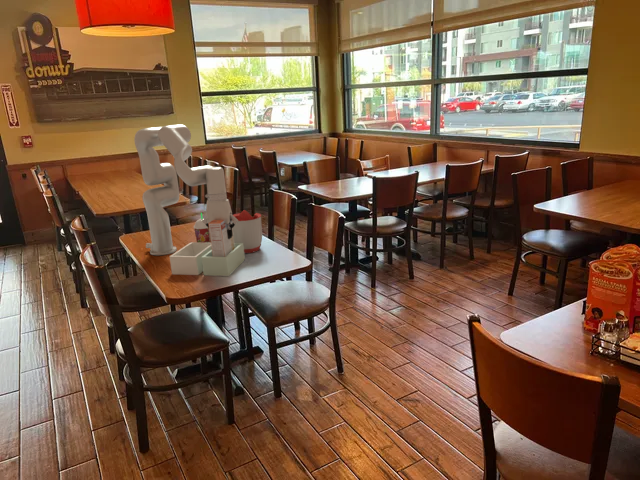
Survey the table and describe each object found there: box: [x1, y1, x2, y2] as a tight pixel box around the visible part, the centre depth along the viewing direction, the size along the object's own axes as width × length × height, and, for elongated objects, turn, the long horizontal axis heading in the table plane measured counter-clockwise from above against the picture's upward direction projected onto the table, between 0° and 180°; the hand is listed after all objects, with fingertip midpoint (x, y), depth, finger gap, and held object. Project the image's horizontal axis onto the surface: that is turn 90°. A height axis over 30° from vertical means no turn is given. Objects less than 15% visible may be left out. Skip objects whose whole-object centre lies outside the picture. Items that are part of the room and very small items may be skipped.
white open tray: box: [168, 241, 212, 276], centre depth 206 cm, size 12×20×8 cm, turn 169°
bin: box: [202, 243, 246, 277], centre depth 203 cm, size 11×20×8 cm, turn 169°
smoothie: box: [193, 212, 211, 243], centre depth 222 cm, size 8×8×20 cm
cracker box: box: [208, 220, 235, 257], centre depth 200 cm, size 14×6×21 cm, turn 173°
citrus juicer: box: [232, 209, 263, 254], centre depth 224 cm, size 16×17×20 cm
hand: (222, 237), depth 200 cm, fingers open, 6 cm apart
